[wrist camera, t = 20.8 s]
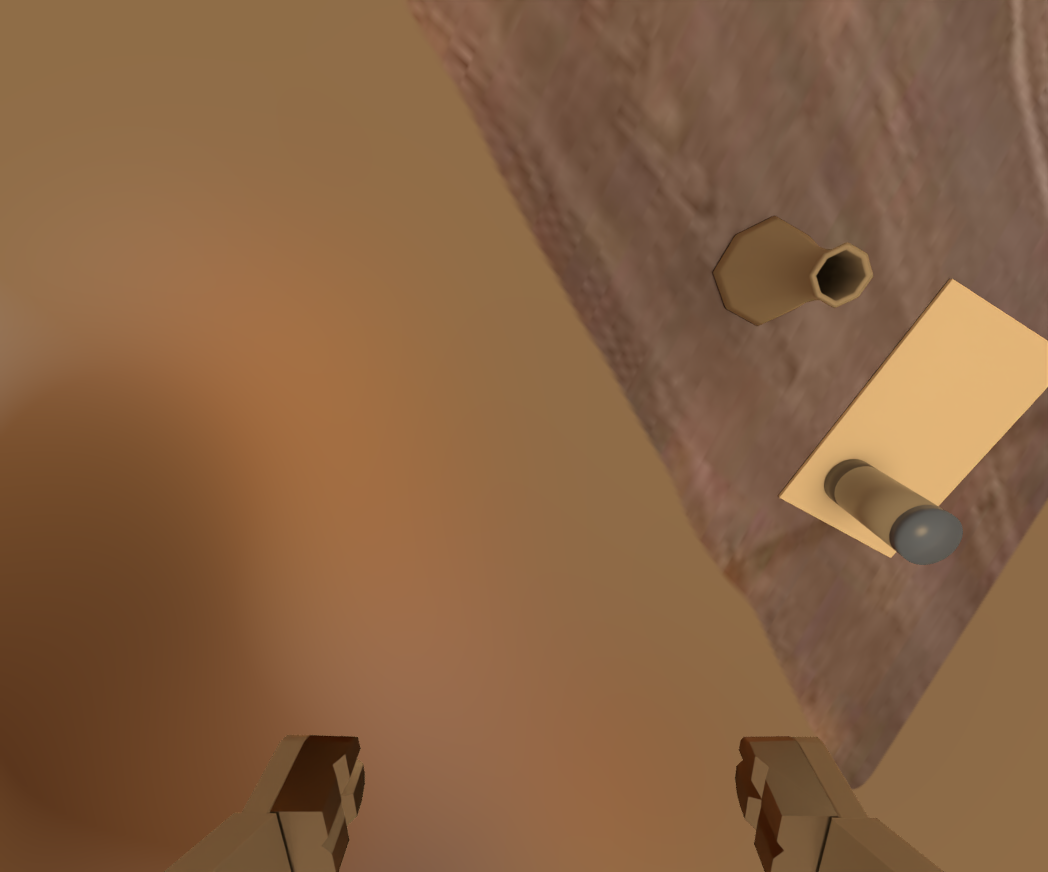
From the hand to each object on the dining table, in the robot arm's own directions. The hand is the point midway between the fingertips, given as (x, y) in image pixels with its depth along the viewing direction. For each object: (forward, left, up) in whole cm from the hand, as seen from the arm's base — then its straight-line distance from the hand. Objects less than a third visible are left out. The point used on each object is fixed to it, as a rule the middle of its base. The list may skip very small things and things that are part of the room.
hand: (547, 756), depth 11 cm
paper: (-12, +28, -31) cm, 43 cm away
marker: (-6, +26, -31) cm, 41 cm away
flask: (-16, +10, -31) cm, 37 cm away
